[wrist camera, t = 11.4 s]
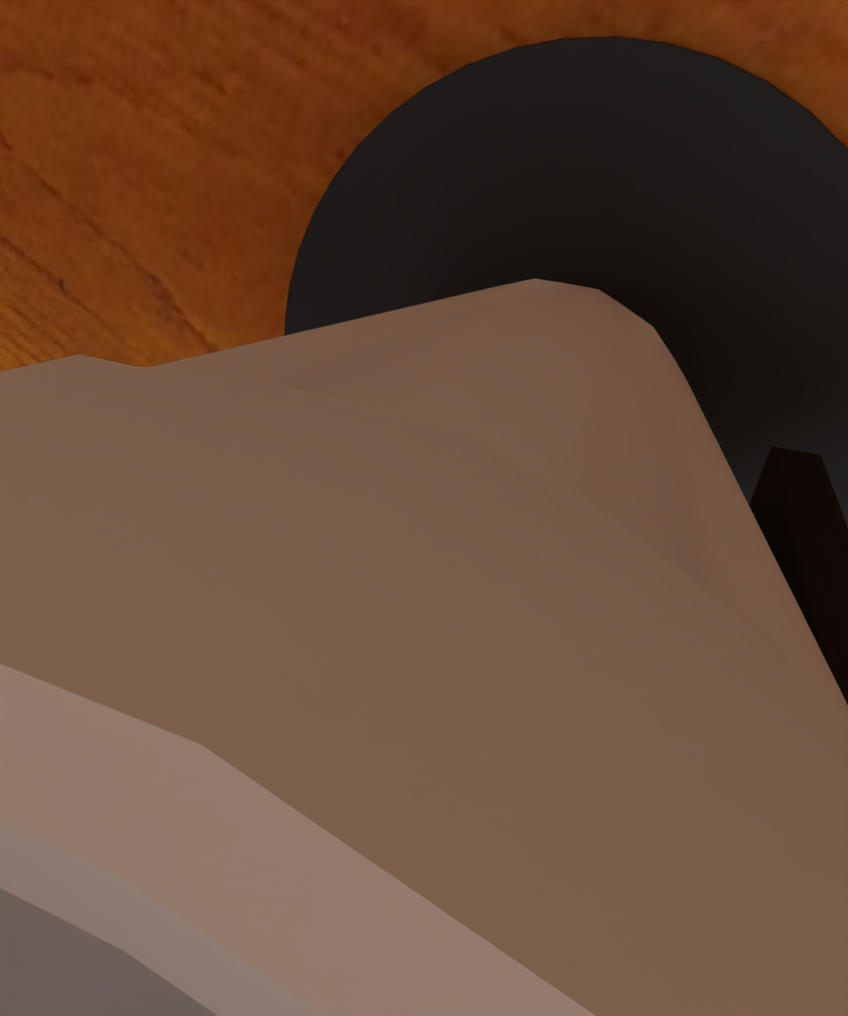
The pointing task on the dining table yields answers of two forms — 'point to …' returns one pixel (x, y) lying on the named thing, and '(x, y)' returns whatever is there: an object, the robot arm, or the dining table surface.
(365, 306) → the mat
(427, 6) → the dining table surface
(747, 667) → the cup
